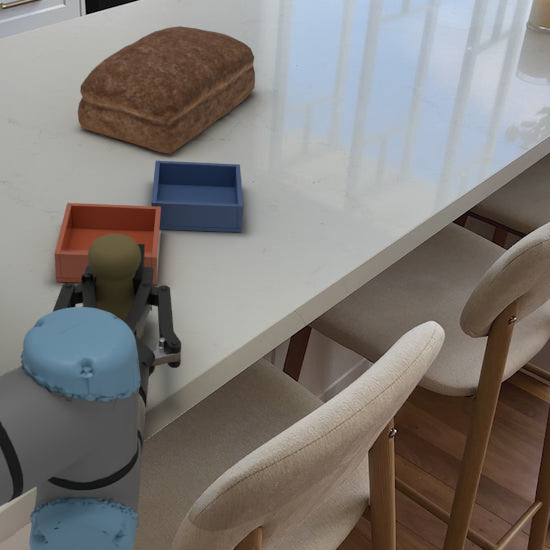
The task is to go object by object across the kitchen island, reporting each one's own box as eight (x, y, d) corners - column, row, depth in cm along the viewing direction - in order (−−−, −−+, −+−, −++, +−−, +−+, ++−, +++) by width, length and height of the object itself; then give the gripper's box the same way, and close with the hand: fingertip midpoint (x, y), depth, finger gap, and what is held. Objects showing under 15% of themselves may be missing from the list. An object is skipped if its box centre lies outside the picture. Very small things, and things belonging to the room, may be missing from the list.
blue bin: (151, 229, 110) (151, 202, 108) (155, 185, 119) (155, 160, 117) (241, 232, 111) (243, 206, 109) (238, 189, 121) (240, 164, 118)
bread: (71, 130, 131) (68, 56, 124) (173, 69, 153) (174, 4, 147) (171, 161, 126) (173, 84, 119) (261, 93, 148) (267, 26, 142)
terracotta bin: (56, 282, 99) (54, 253, 97) (68, 229, 109) (67, 202, 106) (156, 285, 100) (157, 257, 98) (160, 233, 110) (161, 206, 108)
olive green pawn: (94, 352, 90) (90, 262, 84) (81, 317, 94) (76, 229, 88) (151, 342, 92) (152, 253, 86) (136, 308, 97) (136, 222, 90)
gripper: (7, 436, 76) (47, 280, 96) (195, 439, 78) (197, 285, 97) (-1, 369, 72) (42, 220, 91) (199, 374, 74) (200, 226, 93)
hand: (122, 254), depth 94 cm, fingers closed on olive green pawn, 3 cm apart
